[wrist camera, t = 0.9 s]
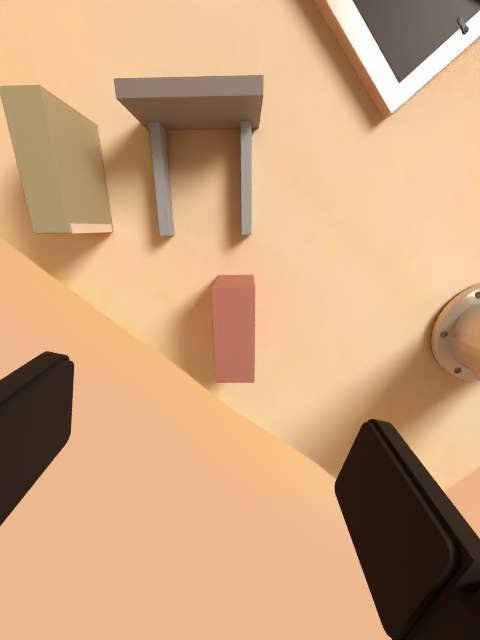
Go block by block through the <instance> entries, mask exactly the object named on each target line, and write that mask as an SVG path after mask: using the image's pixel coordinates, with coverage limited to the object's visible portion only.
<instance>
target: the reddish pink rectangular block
mask: <svg viewBox="0 0 480 640" xmlns="http://www.w3.org/2000/svg"><path fill="white" fill-rule="evenodd" d="M212 310H213V332H214V354H215V376H216V383H254V363H255V284H254V278H253V275H218V277H217V279H216V281H215V282H214V284H213V286H212Z"/></svg>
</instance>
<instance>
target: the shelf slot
mask: <svg viewBox="0 0 480 640" xmlns="http://www.w3.org/2000/svg"><path fill="white" fill-rule="evenodd" d="M114 85H115V92H116V99H117V100H118V101H119V102H120V103H121V104H122V105H123V106H124V107H125V108H126V109H127V110H128V111H129V112H130V113H131V114H132V115H133V116H134V117H135V118H136V119H137V120H138V121H139V122H140V123H141V124H142V125H143V126H144V127H145V128H146V129H147V130H149V131H150V141H151V151H152V161H153V171H154V181H155V191H156V201H157V211H158V221H159V231H160V236H171V235H174V226H173V214H172V202H171V190H170V179H169V167H168V155H167V143H166V131H165V130H172V129H223V128H241V220H242V235H251V142H252V128H259V122H260V115H261V107H262V100H263V75H246V76H203V77H161V78H118V79H114Z"/></svg>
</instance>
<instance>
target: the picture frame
mask: <svg viewBox="0 0 480 640" xmlns="http://www.w3.org/2000/svg"><path fill="white" fill-rule="evenodd" d="M313 1H314V2H315V4H316V6H317V7H318V9H319V11H320V12H321V14H322V16H323V18H324V19H325V21H326V23H327V24H328V26H329V28H330V29H331V31H332V33H333V34H334V36H335V38H336V40H337V41H338V43H339V45H340V46H341V48H342V50H343V51H344V53H345V55H346V56H347V58H348V60H349V62H350V63H351V65H352V67H353V68H354V70H355V72H356V73H357V75H358V77H359V78H360V80H361V82H362V83H363V85H364V87H365V89H366V90H367V92H368V94H369V95H370V97H371V99H372V100H373V102H374V104H375V105H376V107H377V109H378V111H379V112H380V114H381V116H382V117H383V119H385V118H387V117H388V116H389V115H391V114H392V113H393V112H394V111H395V110H396V109H397V108H399V107H400V106H401V105H402V104H403V103H404V102H405V101H407V100H408V99H409V98H410V97H411V96H412V95H413V94H414V93H416V92H417V91H418V90H419V89H420V88H421V87H422V86H423V85H425V84H426V83H427V82H428V81H429V80H430V79H431V78H433V77H434V76H435V75H436V74H437V73H438V72H439V71H440V70H442V69H443V68H444V67H445V66H446V65H447V64H448V63H450V62H451V61H452V60H453V59H454V58H455V57H456V56H457V55H459V54H460V53H461V52H462V51H463V50H464V49H465V48H466V47H468V46H469V45H470V44H471V43H472V42H473V41H474V40H476V39H477V38H478V37H479V36H480V0H313Z"/></svg>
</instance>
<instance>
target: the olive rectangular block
mask: <svg viewBox="0 0 480 640" xmlns="http://www.w3.org/2000/svg"><path fill="white" fill-rule="evenodd" d="M0 95H1V99H2V104H3V108H4V112H5V116H6V120H7V124H8V128H9V133H10V137H11V141H12V145H13V149H14V153H15V157H16V161H17V166H18V170H19V174H20V178H21V182H22V186H23V190H24V195H25V199H26V203H27V207H28V211H29V215H30V219H31V224H32V228H33V232H34V233H37V234H65V233H100V232H112V231H113V226H112V219H111V212H110V206H109V199H108V193H107V186H106V180H105V173H104V166H103V160H102V153H101V147H100V140H99V134H98V127H97V125H96V124H95V123H94V122H92V121H91V120H89V119H88V118H86V117H85V116H83V115H82V114H81V113H79V112H78V111H76V110H75V109H73V108H72V107H70V106H69V105H68V104H66V103H65V102H63V101H62V100H60V99H59V98H57V97H56V96H55V95H53V94H52V93H50V92H49V91H47V90H46V89H44V88H43V87H42V86H40V85H20V86H0Z"/></svg>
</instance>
